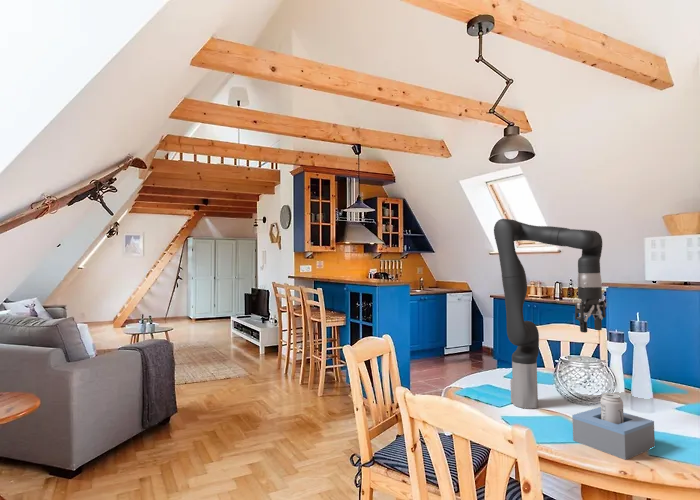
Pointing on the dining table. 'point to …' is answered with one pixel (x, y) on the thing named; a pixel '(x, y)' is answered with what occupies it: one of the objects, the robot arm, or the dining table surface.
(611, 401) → the energy drink can
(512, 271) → the robot arm
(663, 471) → the dining table surface
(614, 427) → the box
